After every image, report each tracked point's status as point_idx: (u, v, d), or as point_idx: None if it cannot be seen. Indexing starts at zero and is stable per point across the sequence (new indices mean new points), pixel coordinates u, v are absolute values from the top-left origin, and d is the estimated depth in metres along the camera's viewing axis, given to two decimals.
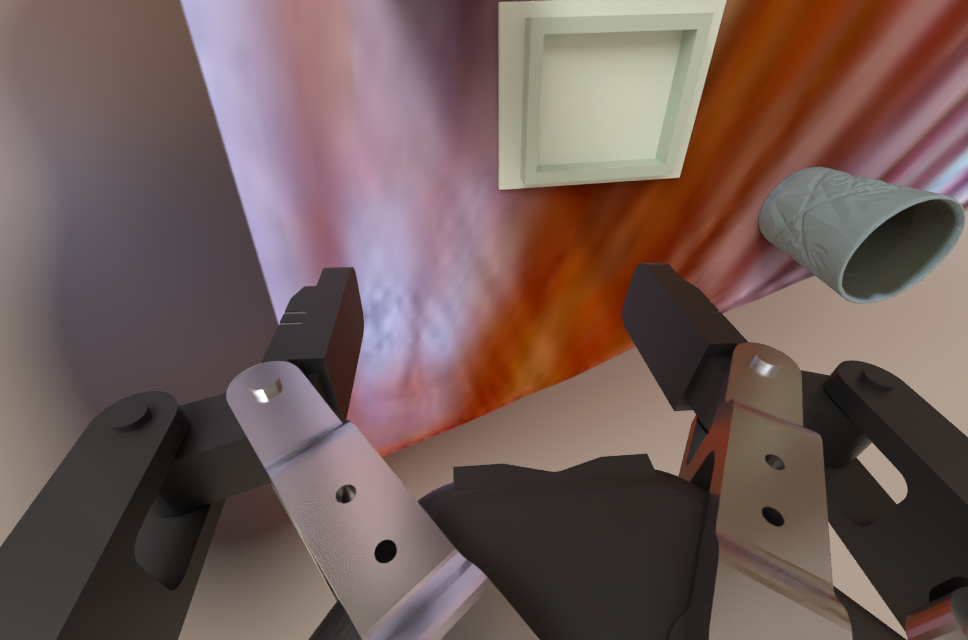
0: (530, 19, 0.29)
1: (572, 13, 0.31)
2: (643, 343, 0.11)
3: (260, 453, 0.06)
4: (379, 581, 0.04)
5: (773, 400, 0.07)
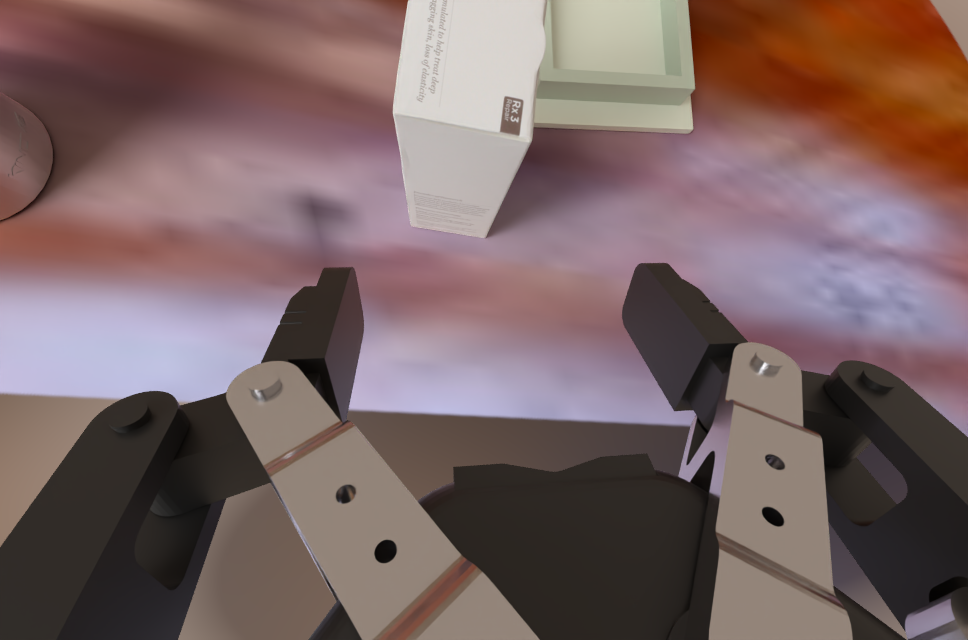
0: (540, 82, 0.30)
1: None
2: (643, 343, 0.11)
3: (260, 453, 0.06)
4: (379, 581, 0.04)
5: (774, 399, 0.07)
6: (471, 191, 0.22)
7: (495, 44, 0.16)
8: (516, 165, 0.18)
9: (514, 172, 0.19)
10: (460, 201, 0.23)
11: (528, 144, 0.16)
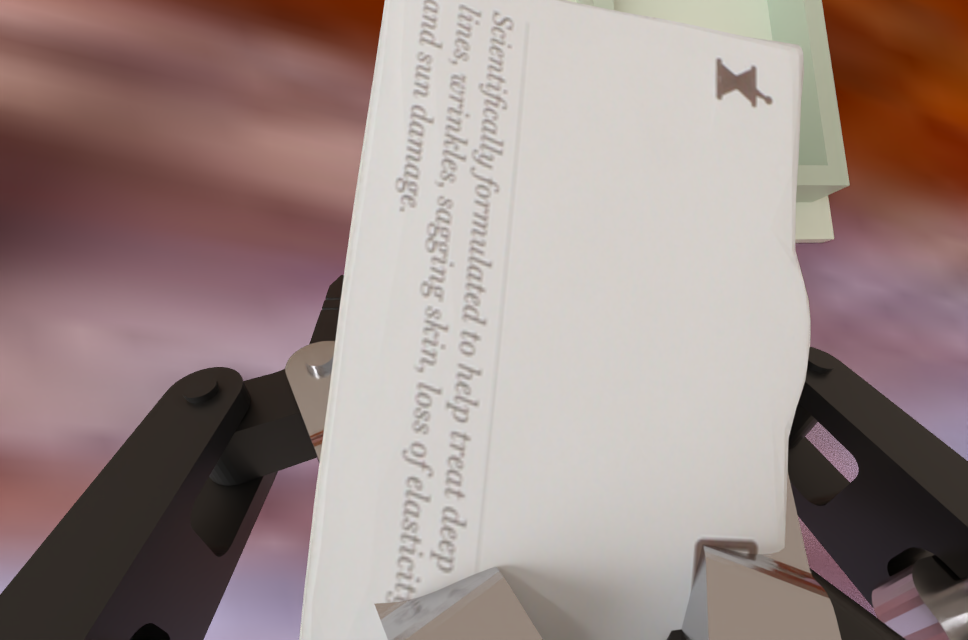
0: None
1: None
2: None
3: (308, 424, 0.06)
4: None
5: None
6: None
7: (656, 358, 0.05)
8: None
9: None
10: None
11: None
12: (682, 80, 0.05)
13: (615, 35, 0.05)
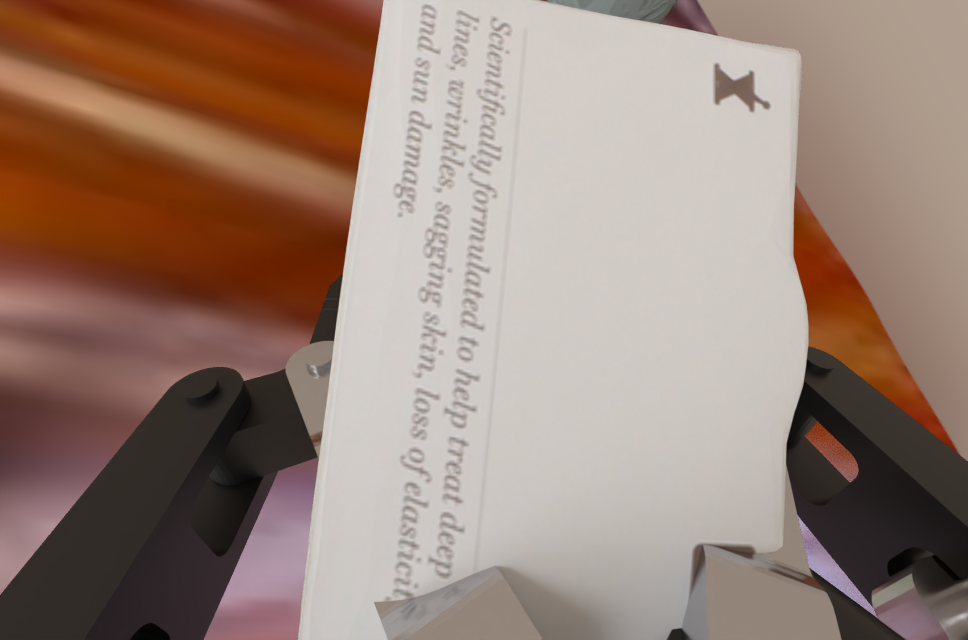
0: None
1: None
2: None
3: (308, 424, 0.06)
4: None
5: None
6: None
7: (654, 363, 0.05)
8: None
9: None
10: None
11: None
12: (680, 85, 0.05)
13: (613, 40, 0.05)
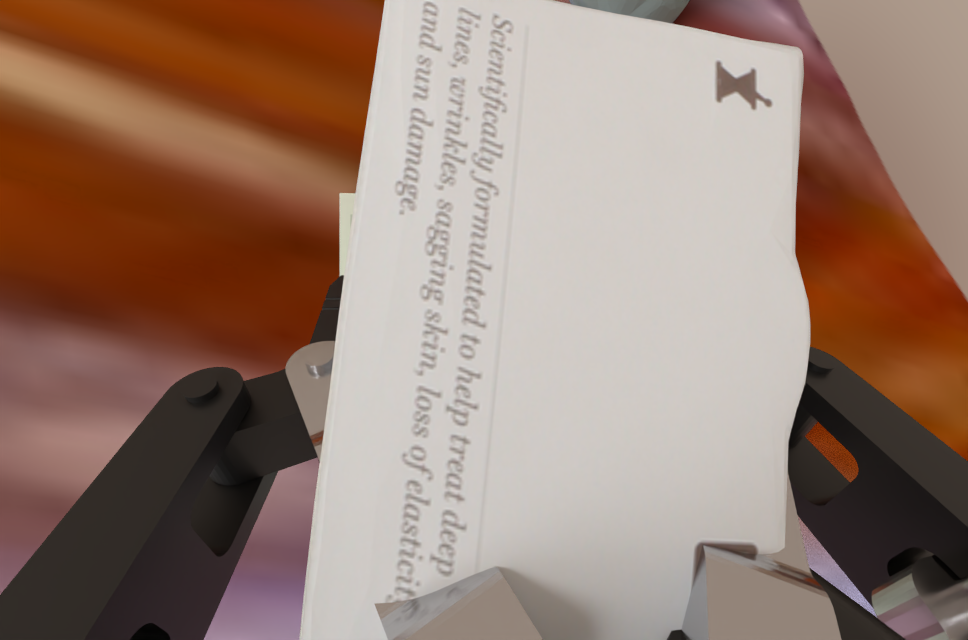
0: None
1: None
2: None
3: (308, 424, 0.06)
4: None
5: None
6: None
7: (656, 361, 0.05)
8: None
9: None
10: None
11: None
12: (682, 83, 0.05)
13: (615, 38, 0.05)
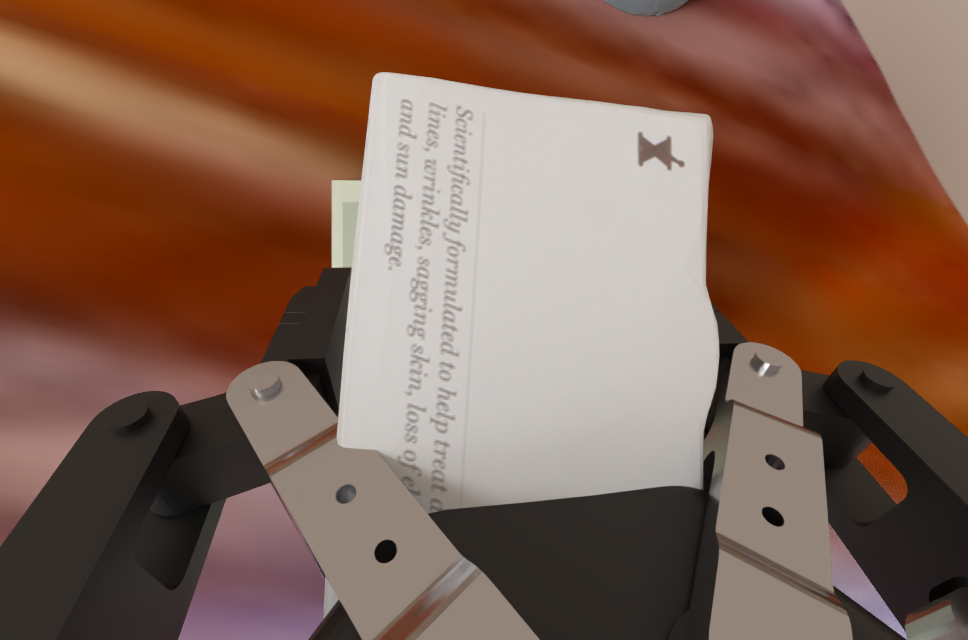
0: None
1: None
2: None
3: (260, 453, 0.06)
4: (379, 581, 0.04)
5: (774, 400, 0.07)
6: None
7: (593, 376, 0.06)
8: None
9: None
10: None
11: None
12: (610, 152, 0.06)
13: (555, 118, 0.06)
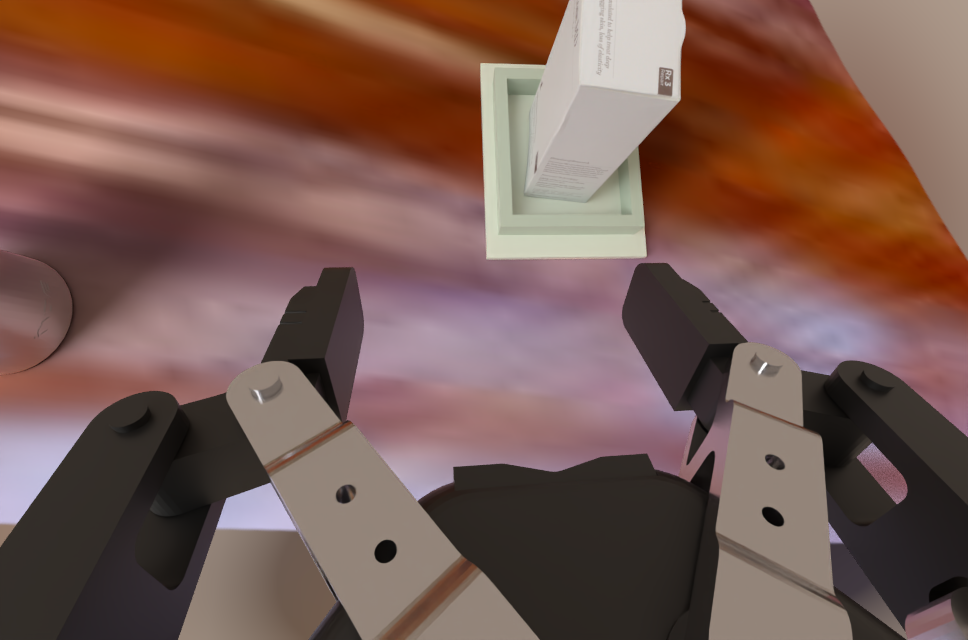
0: (501, 227, 0.33)
1: (494, 194, 0.35)
2: (643, 343, 0.11)
3: (260, 453, 0.06)
4: (379, 581, 0.04)
5: (774, 400, 0.07)
6: (602, 153, 0.27)
7: (649, 29, 0.21)
8: (656, 123, 0.23)
9: (651, 130, 0.24)
10: (587, 163, 0.28)
11: (676, 103, 0.21)
12: None
13: None
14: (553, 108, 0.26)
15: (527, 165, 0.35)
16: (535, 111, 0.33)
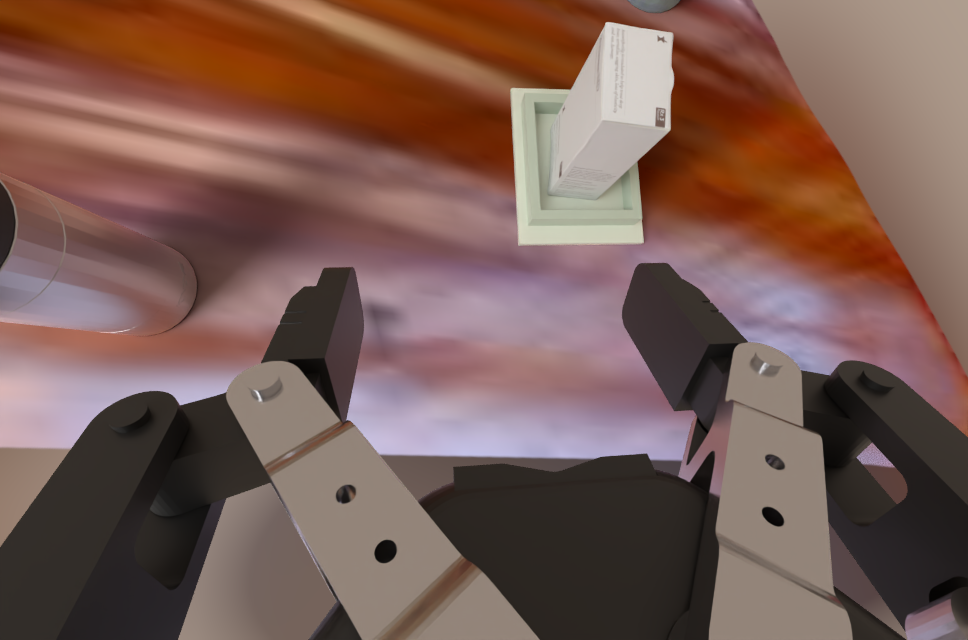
0: (532, 219, 0.42)
1: (524, 193, 0.44)
2: (643, 343, 0.11)
3: (260, 453, 0.06)
4: (379, 581, 0.04)
5: (773, 400, 0.07)
6: (613, 163, 0.36)
7: (649, 80, 0.30)
8: (653, 144, 0.33)
9: (649, 149, 0.33)
10: (600, 171, 0.38)
11: None
12: (651, 38, 0.31)
13: (640, 31, 0.31)
14: (577, 131, 0.35)
15: (550, 170, 0.44)
16: (557, 128, 0.42)
